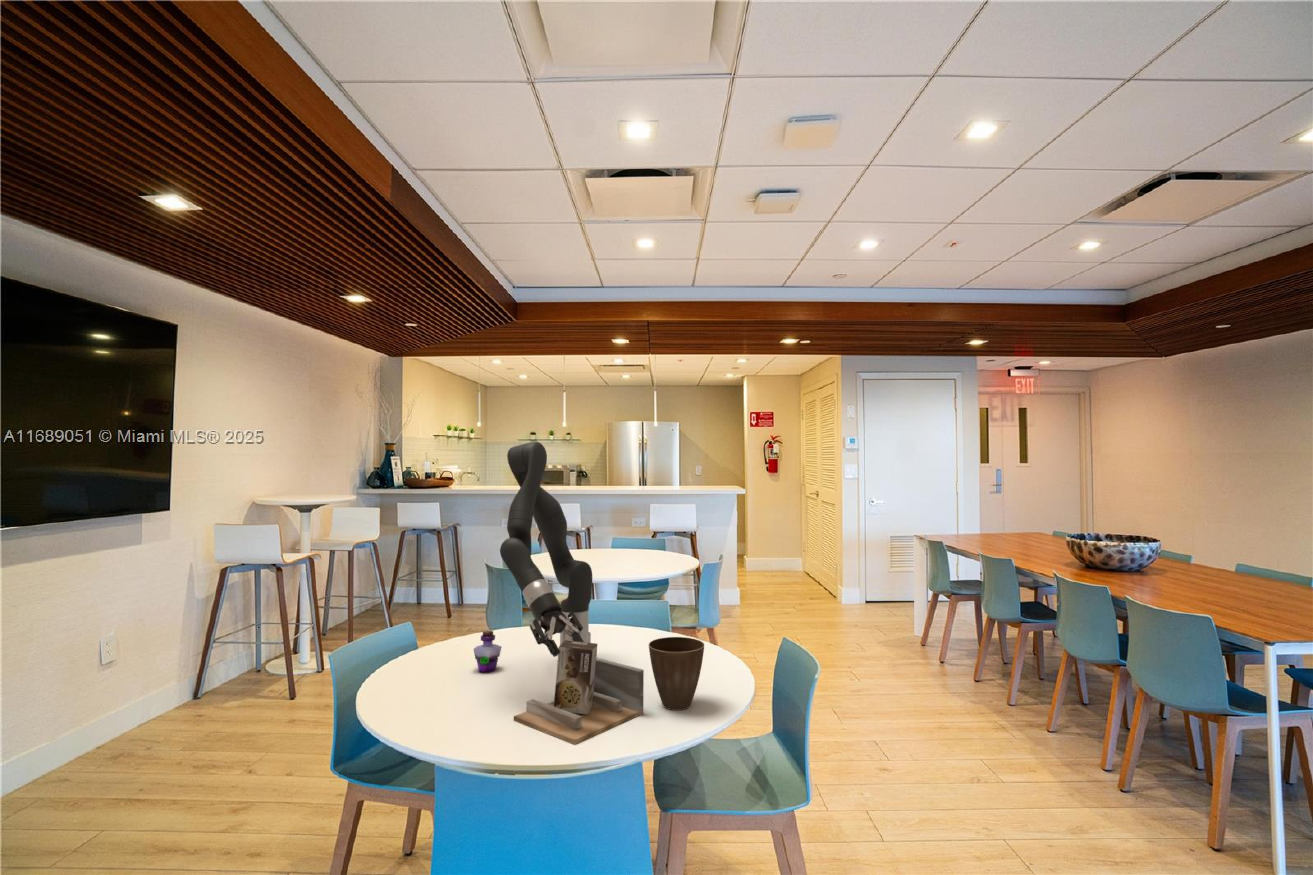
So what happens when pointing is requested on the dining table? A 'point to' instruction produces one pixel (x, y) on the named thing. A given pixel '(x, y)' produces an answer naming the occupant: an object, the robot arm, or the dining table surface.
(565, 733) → the track board
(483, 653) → the potion bottle
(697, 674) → the plant pot
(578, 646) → the coffee box
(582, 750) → the dining table surface
